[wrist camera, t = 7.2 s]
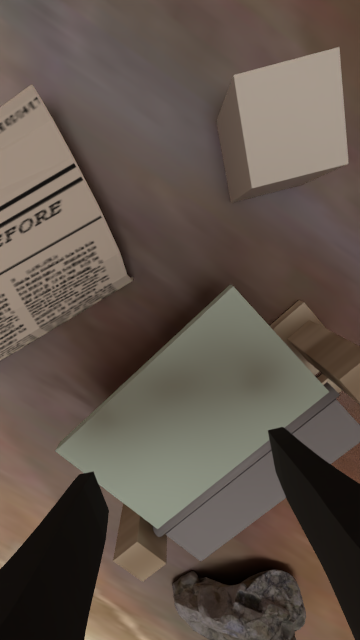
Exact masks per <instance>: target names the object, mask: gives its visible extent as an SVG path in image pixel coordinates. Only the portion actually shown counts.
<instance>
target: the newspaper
mask: <svg viewBox="0 0 360 640" xmlns="http://www.w3.org/2000/svg"><path fill="white" fill-rule="evenodd" d="M132 281H133V276H132V277H131V278H130V277H129V276H128V275H127V273H126V269H125V266H124V263H123V260H122V257H121V254H120V251H119V249H118V247H117V245H116V242H115V240H114V238H113V236H112V234H111V231H110V229H109V227H108V225H107V223H106V220H105V218H104V216H103V214H102V212H101V209H100V207H99V205H98V203H97V202H96V200H95V198H94V196H93V194H92V192H91V190H90V188H89V186H88V184H87V182H86V180H85V178H84V176H83V174H82V172H81V171H80V169H79V167H78V165H77V163H76V161H75V159H74V157H73V155H72V153H71V151H70V150H69V148H68V146H67V144H66V142H65V140H64V139H63V137H62V135H61V133H60V131H59V129H58V127H57V126H56V124H55V122H54V120H53V118H52V117H51V115H50V113H49V112H48V110H47V108H46V106H45V105H44V103H43V101H42V100H41V98H40V96H39V95H38V93H37V91H36V90H35V88H34V86H33V85H32V84H31V85H30V86H29V87H27V88H26V89H24V90H23V91H22V92H20V93H19V94H18V95H16V96H15V97H14V98H12V99H11V100H9V101H8V102H7V103H5V104H4V105H3V106H1V107H0V361H1V360H3V359H5V358H6V357H8V356H10V355H11V354H13V353H15V352H16V351H18V350H19V349H21V348H23V347H24V346H26V345H28V344H29V343H31V342H33V341H34V340H36V339H38V338H39V337H41V336H43V335H44V334H46V333H48V332H49V331H51V330H53V329H54V328H56V327H57V326H59V325H61V324H62V323H64V322H66V321H67V320H69V319H71V318H72V317H74V316H76V315H77V314H79V313H81V312H82V311H84V310H86V309H87V308H89V307H90V306H92V305H94V304H95V303H97V302H99V301H100V300H102V299H104V298H105V297H107V296H109V295H110V294H112V293H114V292H115V291H117V290H119V289H120V288H122V287H123V286H125V285H127V284H128V283H130V282H132Z"/></svg>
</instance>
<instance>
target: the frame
mask: <svg viewBox="0 0 360 640" xmlns="http://www.w3.org/2000/svg"><path fill="white" fill-rule="evenodd" d="M270 327H271V328H272V329H273V331H274V332H275V333H276V334H277V335H278V336H279V337H280V338H281V339H282V340H283V341H284V343H285V344H286V345H287V346H288V347H289V348H290V349H291V350H292V351H293V352H294V354H295V355H296V356H297V357H298V358H299V359H300V360H301V361H302V362H303V363H304V365H305V366H306V367H307V368H308V369H309V370H310V371H311V372H312V373H313V374H314V376H315V375H316V374H317V373H318V372H321V373H322V374H321V375H320V376H319V377H318V378H317V379H318V380H319V381H320V382H321V383H322V384H323V385H324V384H325V383H326V382H328V383H329V384H330V385H331V386H332V387H333V388H334V389H335V390H336V391H337V392H338V393H340V392H341V391H342V390H343V391H344V392H345V393H346V394H348V395H349V396H350V397H351V398H352V399H354V400H355V401H356V402H357V403H358V404H360V346H358V345H356V344H354V343H352V342H350V341H348V340H346V339H344V338H342V337H341V336H339V335H337V334H335V333H333V332H331V331H329V330H327V329H326V328H325V326H324V325H323V324H322V323H321V322H320V320H319V319H318V318H317V317H316V316H315V315H314V313H313V312H312V311H311V310H310V309H309V308H308V306H307V305H306V304H305V303H304V302H302V301H300V300H298V301H297V302H296V303H295V304H294V305H293V306H292V307H290V308H289V309H288V310H287V311H286V312H285V313H284V314H282V315H281V316H280V317H279V318H278V319H277V320H276V321H274V322H273V323H272V324H271V325H270ZM166 551H167V535H166V533H165V534H164V535H163V536H161V537H158V536H157V535H156V534H155V533H154V531H153V527H152V525H151V524H150V523H149V522H148V521H146V520H145V519H144V518H142V517H141V516H140V515H138V514H137V513H136V512H134V511H133V510H132V509H130V508H129V507H128V506H127V505H125V504H124V503H123V508H122V513H121V519H120V525H119V530H118V536H117V542H116V547H115V553H114V559H113V561H114V562H115V563H117V564H118V565H119V566H121V567H122V568H124V569H125V570H127V571H128V572H130V573H131V574H132V575H134V576H135V577H137V578H138V579H140V580H141V581H142V582H143V581H144V580H145V579H147V578H148V577H149V576H151V575H152V574H153V573H155V572H156V571H157V570H158V569H160V568H161V567H162V566H164V565H165V564H166Z"/></svg>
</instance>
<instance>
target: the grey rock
mask: <svg viewBox="0 0 360 640" xmlns="http://www.w3.org/2000/svg"><path fill="white" fill-rule="evenodd" d="M172 586H173V591H174V602H175V603H174V604H175V608H176V610H177V611H178V614H179V615H180V617H181V618H183V619H184V620H185V621H186V622H187V623H188V624H189V625H190V627H191V628H192V629H193V630H194V631H196V632H198V633H199V634H201V635H202V636H204V637H206V638H207V639H209V640H296V638H295V632H294V631H297V630H299V629H300V628H301V627H302V626H303V625H304V624H305V618H306V612H305V607H304V604H303V600H302V596H301V594H300V589H299V587H298V584H297V582H296V580H295V579H294V577H293V576H291V575H290V574H289V573H287V572H284V571H281V570H268V571H263V572H260V573H257V574H255V575H253V576H251V577H249V578H247V579H246V580H244V581H242V582H241V583H240V584H237V585H226V584H222V583H219V582H217V581H215V580H212V579H209V578H207V577H205V578H199V577H198V576H197V574H196V573H195V572H194V571H191V572H189V573H187V574H185V575H183V576H181V577H180V578H179V579H178V580H177V581H176V582H174V583H173V584H172Z"/></svg>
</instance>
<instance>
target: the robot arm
mask: <svg viewBox="0 0 360 640" xmlns="http://www.w3.org/2000/svg"><path fill="white" fill-rule="evenodd" d="M268 434H269V440H270V445H271V450H272V455H273V461H274V466H275V471H276V474H277V476H278V479H279V481H280V484H281V486H282V489H283V491H284V494H285V496H286V498H287V500H288V502H289V504H290V506H291V508H292V510H293V512H294V514H295V515H296V517H297V519H298V521H299V523H300V525H301V527H302V529H303V530H304V532H305V534H306V536H307V538H308V540H309V542H310V544H311V545H312V547H313V549H314V551H315V553H316V555H317V557H318V559H319V560H320V562H321V564H322V566H323V568H324V571H325V573H326V575H327V577H328V579H329V581H330V583H331V586H332V588H333V590H334V592H335V595H336V597H337V599H338V601H339V604H340V606H341V608H342V610H343V613H344V615H345V617H346V620H347V622H348V624H349V627H350V629H351V631H352V634H353V636H354V638H355V640H360V484H359V483H357V482H356V481H354V480H353V479H351V478H350V477H348V476H347V475H345V474H344V473H342V472H341V471H339V470H338V469H336V468H335V467H334V466H332V465H331V464H329V463H328V462H327V461H325V460H324V459H323V458H321V457H320V456H319V455H317V454H316V453H315V452H313V451H312V450H311V449H309V448H308V447H307V446H306V445H304V444H303V443H302V442H301V441H300V440H298V439H297V438H296V437H295V436H294V435H292V434H291V433H290V432H289V431H288V430H287V429H285V428H284V427H280V428H276V429H271V430H268ZM108 513H109V510H108V507H107V505H106V502H105V500H104V497H103V494H102V492H101V489H100V487H99V484H98V482H97V479H96V477H95V474H94V471H93V472H88V473H84V474H80V475H78V477H77V478H76V479H75V480H74V481H73V483H72V484H71V485H70V486H69V488H68V489H67V490H66V491H65V493H64V494H63V495H62V497H61V498H60V499H59V500H58V502H57V503H56V504H55V506H54V507H53V508H52V509H51V511H50V512H49V513H48V514H47V516H46V517H45V518H44V519H43V521H42V522H41V523H40V524H39V526H38V527H37V528H36V529H35V530H34V532H33V533H32V534H31V535H30V536H29V537H28V539H27V540H26V541H25V542H24V543H23V545H22V546H21V547H20V548H19V549H18V550H17V552H16V553H15V554H14V555H13V556H12V557H11V558H10V559H9V560H8V562H7V563H6V564H5V565H4V566H3V567H2V568H1V569H0V640H84V637H85V631H86V626H87V621H88V616H89V611H90V606H91V602H92V598H93V593H94V589H95V585H96V580H97V576H98V572H99V567H100V563H101V558H102V554H103V549H104V545H105V540H106V532H107V523H108Z"/></svg>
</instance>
